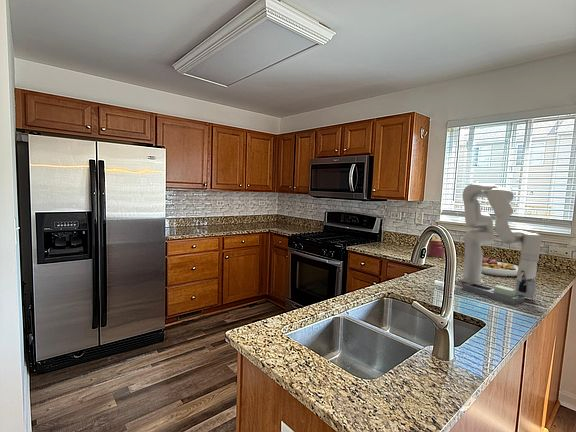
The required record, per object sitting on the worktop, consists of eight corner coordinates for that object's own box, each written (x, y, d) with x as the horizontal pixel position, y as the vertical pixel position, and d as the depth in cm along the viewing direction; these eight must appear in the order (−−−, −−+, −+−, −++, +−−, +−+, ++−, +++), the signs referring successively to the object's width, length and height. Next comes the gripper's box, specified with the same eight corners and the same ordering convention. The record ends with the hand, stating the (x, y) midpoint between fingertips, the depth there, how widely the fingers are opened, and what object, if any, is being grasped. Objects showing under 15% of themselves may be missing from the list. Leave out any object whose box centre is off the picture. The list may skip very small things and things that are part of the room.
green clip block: (498, 296, 165) (498, 285, 165) (515, 301, 158) (516, 289, 158) (493, 297, 163) (494, 286, 162) (510, 302, 156) (511, 290, 155)
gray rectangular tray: (472, 287, 179) (472, 282, 179) (524, 302, 157) (524, 296, 156) (462, 289, 175) (462, 284, 174) (514, 305, 152) (515, 298, 152)
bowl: (532, 278, 205) (533, 266, 204) (486, 277, 205) (487, 265, 205) (502, 267, 235) (502, 257, 234) (461, 266, 235) (462, 256, 235)
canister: (435, 258, 262) (437, 237, 261) (424, 255, 274) (425, 235, 273) (447, 257, 267) (448, 236, 265) (435, 254, 279) (436, 234, 278)
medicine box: (534, 297, 161) (537, 280, 160) (533, 299, 158) (535, 282, 157) (516, 292, 167) (518, 276, 166) (514, 294, 164) (516, 278, 163)
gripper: (529, 254, 168) (525, 286, 170) (512, 256, 160) (508, 291, 162) (546, 257, 161) (541, 291, 163) (529, 260, 153) (525, 296, 155)
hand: (525, 290), depth 162 cm, fingers closed on medicine box, 5 cm apart
